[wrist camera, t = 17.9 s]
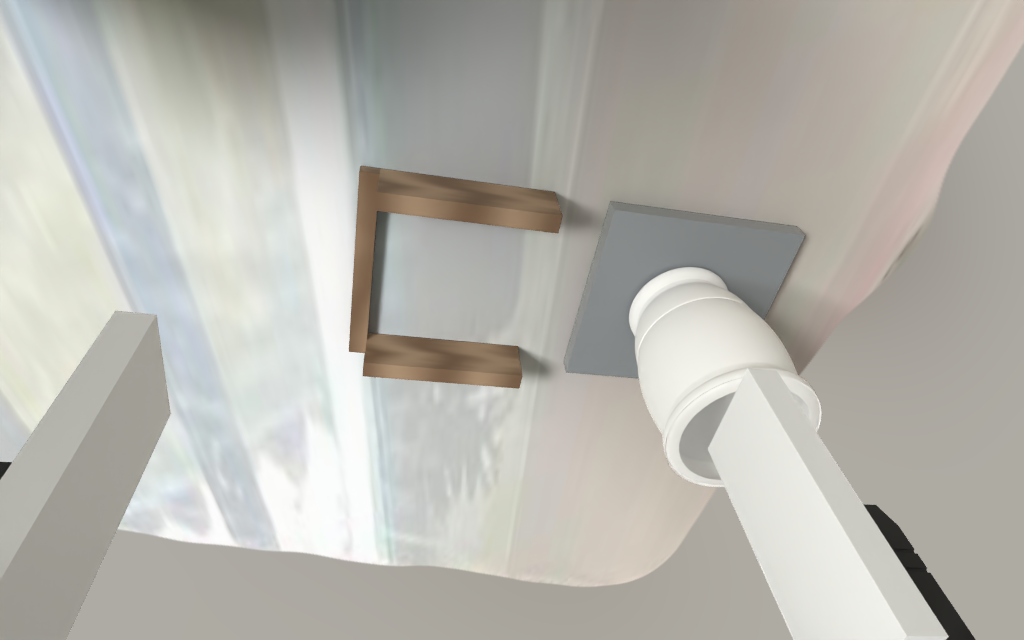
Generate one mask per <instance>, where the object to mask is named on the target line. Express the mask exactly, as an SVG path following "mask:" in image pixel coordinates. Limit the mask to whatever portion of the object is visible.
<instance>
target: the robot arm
mask: <svg viewBox="0 0 1024 640" xmlns="http://www.w3.org/2000/svg"><path fill="white" fill-rule="evenodd" d="M170 414H171V413H170V406H169V399H168V392H167V385H166V378H165V371H164V364H163V357H162V350H161V343H160V336H159V329H158V322H157V315H155V314H144V313H133V312H122V311H115V312H114V314H113V315H112V317H111V318H110V320H109V321H108V323H107V324H106V326H105V327H104V328H103V330H102V331H101V333H100V334H99V336H98V337H97V339H96V340H95V342H94V343H93V345H92V346H91V348H90V349H89V350H88V352H87V353H86V355H85V356H84V358H83V359H82V361H81V362H80V364H79V365H78V367H77V368H76V370H75V371H74V373H73V374H72V375H71V377H70V378H69V380H68V381H67V383H66V384H65V386H64V387H63V389H62V390H61V392H60V393H59V395H58V396H57V397H56V399H55V400H54V402H53V403H52V405H51V406H50V408H49V409H48V411H47V412H46V414H45V415H44V417H43V418H42V419H41V421H40V422H39V424H38V425H37V427H36V428H35V430H34V431H33V433H32V434H31V436H30V437H29V439H28V440H27V442H26V443H25V444H24V446H23V447H22V449H21V450H20V452H19V453H18V455H17V456H16V458H15V459H14V461H13V462H0V640H66V639H67V637H68V635H69V632H70V630H71V628H72V626H73V624H74V622H75V619H76V617H77V615H78V613H79V611H80V609H81V606H82V604H83V602H84V600H85V598H86V596H87V593H88V591H89V589H90V587H91V585H92V583H93V580H94V578H95V576H96V574H97V572H98V569H99V567H100V565H101V563H102V561H103V559H104V557H105V555H106V552H107V550H108V548H109V546H110V544H111V542H112V539H113V537H114V535H115V533H116V531H117V529H118V526H119V524H120V522H121V520H122V518H123V516H124V513H125V511H126V509H127V507H128V505H129V503H130V500H131V498H132V496H133V494H134V492H135V490H136V487H137V485H138V483H139V481H140V479H141V477H142V474H143V472H144V470H145V468H146V466H147V464H148V461H149V459H150V457H151V455H152V453H153V451H154V449H155V446H156V444H157V442H158V440H159V438H160V436H161V433H162V431H163V429H164V427H165V425H166V423H167V420H168V418H169V416H170ZM708 451H709V453H710V455H711V457H712V460H713V462H714V464H715V466H716V469H717V471H718V473H719V475H720V478H721V480H722V482H723V484H724V486H725V489H726V491H727V493H728V495H729V497H730V500H731V502H732V504H733V506H734V509H735V511H736V513H737V515H738V518H739V520H740V522H741V524H742V526H743V529H744V531H745V533H746V535H747V538H748V540H749V542H750V544H751V546H752V549H753V551H754V553H755V555H756V558H757V560H758V562H759V564H760V567H761V569H762V571H763V573H764V575H765V578H766V580H767V582H768V584H769V586H770V589H771V591H772V593H773V595H774V598H775V600H776V602H777V604H778V606H779V609H780V611H781V613H782V616H783V618H784V620H785V622H786V624H787V627H788V629H789V631H790V633H791V636H792V638H793V640H975V638H974V637H973V635H972V634H971V632H970V631H969V629H968V628H967V626H966V625H965V623H964V622H963V621H962V619H961V618H960V616H959V615H958V613H957V612H956V610H955V609H954V607H953V606H952V604H951V603H950V601H949V600H948V598H947V597H946V595H945V594H944V593H943V591H942V590H941V588H940V587H939V585H938V584H937V582H936V581H935V579H934V578H933V576H932V575H931V573H928V572H927V571H926V569H927V568H926V566H925V564H924V563H923V561H922V560H921V559H920V557H919V556H918V554H915V553H914V548H913V547H912V545H911V544H910V542H909V541H908V539H907V538H906V536H905V535H904V533H903V532H902V531H901V529H900V528H899V526H898V525H897V524H896V523H894V521H893V520H891V519H890V518H889V517H888V516H887V515H886V514H885V513H884V512H883V511H882V510H880V508H879V507H877V506H876V505H864V504H863V503H862V502H861V500H860V499H859V497H858V495H857V494H856V492H855V491H854V489H853V488H852V486H851V485H850V483H849V482H848V480H847V479H846V477H845V476H844V474H843V472H842V471H841V469H840V468H839V466H838V465H837V463H836V462H835V460H834V458H833V457H832V455H831V454H830V452H829V451H828V449H827V448H826V446H825V445H824V443H823V441H822V440H821V438H820V437H819V435H818V434H817V432H816V431H815V429H814V427H813V426H812V424H811V423H810V421H809V420H808V418H807V417H806V415H805V413H804V412H803V410H802V409H801V407H800V406H799V404H798V403H797V401H796V400H795V398H794V396H793V395H792V393H791V392H790V390H789V389H788V387H787V386H786V384H785V383H784V381H783V379H782V378H781V376H780V375H779V373H778V372H777V371H775V370H764V369H753V368H748V369H747V371H746V373H745V375H744V377H743V379H742V381H741V383H740V385H739V387H738V389H737V391H736V393H735V395H734V397H733V399H732V401H731V403H730V405H729V407H728V409H727V411H726V413H725V415H724V417H723V419H722V421H721V423H720V425H719V427H718V429H717V431H716V433H715V435H714V437H713V439H712V441H711V443H710V445H709V447H708Z"/></svg>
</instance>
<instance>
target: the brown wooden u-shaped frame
mask: <svg viewBox="0 0 1024 640" xmlns="http://www.w3.org/2000/svg"><path fill="white" fill-rule="evenodd" d="M377 211H382V212H390V213H398V214H406V215H414V216H422V217H430V218H438V219H447V220H455V221H463V222H471V223H479V224H487V225H495V226H503V227H511V228H519V229H527V230H535V231H544V232H552V233H558V232H559V228H560V224H561V220H562V213H561V210H560V207H559V204H558V201H557V198H556V195H555V192H551V191H544V190H536V189H529V188H521V187H514V186H507V185H499V184H492V183H484V182H477V181H470V180H462V179H455V178H447V177H440V176H433V175H425V174H418V173H410V172H403V171H396V170H388V169H381V168H373V167H366V166H361V167H360V171H359V188H358V205H357V222H356V239H355V256H354V273H353V290H352V307H351V324H350V341H349V352H359V353H365V357H364V365H363V376H368V377H381V378H394V379H406V380H419V381H432V382H445V383H457V384H470V385H483V386H495V387H508V388H519V387H520V383H521V379H522V371H521V364H520V358H519V352H518V346H507V345H496V344H485V343H474V342H463V341H452V340H441V339H430V338H419V337H408V336H397V335H386V334H375V333H368V323H369V310H370V298H371V285H372V272H373V259H374V246H375V233H376V220H377Z"/></svg>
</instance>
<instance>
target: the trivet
mask: <svg viewBox="0 0 1024 640" xmlns="http://www.w3.org/2000/svg"><path fill="white" fill-rule="evenodd" d="M804 237H805V234H804V233H803V232H802V231H801V230H800V229H799V228H798V227H797V226H790V225H782V224H775V223H767V222H760V221H752V220H745V219H738V218H730V217H723V216H715V215H708V214H701V213H693V212H686V211H678V210H671V209H663V208H656V207H649V206H641V205H634V204H626V203H619V202H611V201H610V204H609V208H608V211H607V215H606V218H605V221H604V225H603V228H602V232H601V235H600V239H599V242H598V245H597V249H596V252H595V256H594V259H593V262H592V266H591V269H590V273H589V276H588V280H587V283H586V286H585V290H584V293H583V297H582V300H581V303H580V307H579V310H578V314H577V317H576V321H575V324H574V327H573V331H572V334H571V338H570V341H569V345H568V348H567V351H566V355H565V358H564V366H565V370H566V372H568V373H580V374H592V375H604V376H615V377H627V378H639V376H638V365H637V361H636V354H635V336H634V334H633V332H632V330H631V328H630V324H629V312H630V308H631V305H632V302H633V300H634V298H635V297H636V295H637V294H638V292H639V291H640V290H641V289H642V288H643V287H644V286H645V285H646V284H647V283H648V282H649V281H651V280H652V279H653V278H655V277H657V276H658V275H660V274H662V273H664V272H667V271H670V270H673V269H677V268H682V267H698V268H703V269H706V270H709V271H711V272H713V273H715V274H716V275H718V276H719V277H720V278H721V279H722V280H723V282H724V283H725V285H726V287H727V289H728V291H729V292H731V293H733V294H734V295H736V296H737V297H738V298H740V299H741V300H742V301H743V302H744V303H745V304H746V305H748V307H749V308H750V309H751V310H752V311H754V312H755V313H756V314H757V315H758V316H760V317H761V318H762V319H763V320H764V319H765V317H766V315H767V313H768V311H769V309H770V307H771V305H772V303H773V301H774V298H775V296H776V294H777V292H778V290H779V288H780V286H781V284H782V282H783V280H784V278H785V276H786V274H787V272H788V270H789V268H790V266H791V264H792V262H793V260H794V258H795V255H796V253H797V251H798V249H799V247H800V245H801V243H802V241H803V239H804Z"/></svg>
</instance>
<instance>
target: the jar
mask: <svg viewBox="0 0 1024 640" xmlns="http://www.w3.org/2000/svg"><path fill="white" fill-rule="evenodd" d="M629 324H630V328H631V330H632V332H633V334H634V336H635V354H636V361H637V365H638V376H639V382H640V387H641V391H642V395H643V398H644V401H645V403H646V406H647V408H648V411H649V413H650V415H651V417H652V419H653V421H654V422H655V424H656V426H657V427H658V429H659V431H660V432H661V434H662V435H663V448H664V452H665V455H666V459H667V461H668V464H669V465H670V467H671V468H672V470H673V471H674V472H675V473H676V474H677V475H679V476H680V477H681V478H683V479H685V480H687V481H689V482H692V483H695V484H698V485H703V486H710V487H725V486H724V484H723V482H722V480H721V478H720V475H719V473H718V471H717V469H716V466H715V464H714V462H713V460H712V457H711V455H710V453H709V451H708V447H709V445H710V443H711V441H712V439H713V437H714V435H715V433H716V431H717V429H718V427H719V425H720V423H721V421H722V419H723V417H724V415H725V413H726V411H727V409H728V407H729V405H730V403H731V401H732V399H733V397H734V395H735V393H736V391H737V389H738V387H739V385H740V383H741V381H742V379H743V377H744V375H745V373H746V371H747V369H748V368H753V369H764V370H775V371H777V372H778V373H779V375H780V376H781V378H782V379H783V381H784V383H785V384H786V386H787V387H788V389H789V390H790V392H791V393H792V395H793V396H794V398H795V400H796V401H797V403H798V404H799V406H800V407H801V409H802V410H803V412H804V413H805V415H806V417H807V418H808V420H809V421H810V423H811V424H812V426H813V427H814V429H815V431H816V432H817V431H818V429H819V426H820V422H821V416H822V411H821V404H820V401H819V399H818V397H817V395H816V393H815V391H814V389H813V388H812V387H811V385H810V384H809V383H808V382H807V381H806V380H804V379H803V378H802V377H800V376H799V375H798V374H797V371H796V369H795V366H794V364H793V362H792V360H791V358H790V356H789V354H788V352H787V350H786V348H785V347H784V345H783V343H782V342H781V340H780V339H779V337H778V336H777V335H776V333H775V332H774V331H773V330H772V329H771V327H770V326H769V325H768V324H767V323H766V322H765V321H764V320H763V319H762V318H761V317H760V316H758V315H757V314H756V313H755V312H754V311H752V310H751V309H750V308H749V307H748V305H746V304H745V303H744V302H743V301H742V300H741V299H740V298H738V297H737V296H736V295H734V294H733V293H731V292H729V291H728V289H727V287H726V285H725V283H724V282H723V280H722V279H721V278H720V277H719V276H718V275H716V274H715V273H713V272H711V271H709V270H706V269H703V268H698V267H682V268H677V269H673V270H670V271H667V272H664V273H662V274H660V275H658V276H657V277H655V278H653V279H652V280H651V281H649V282H648V283H647V284H646V285H645V286H644V287H643V288H642V289H641V290H640V291H639V292H638V294H637V295H636V297H635V298H634V300H633V302H632V305H631V308H630V312H629Z"/></svg>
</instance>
